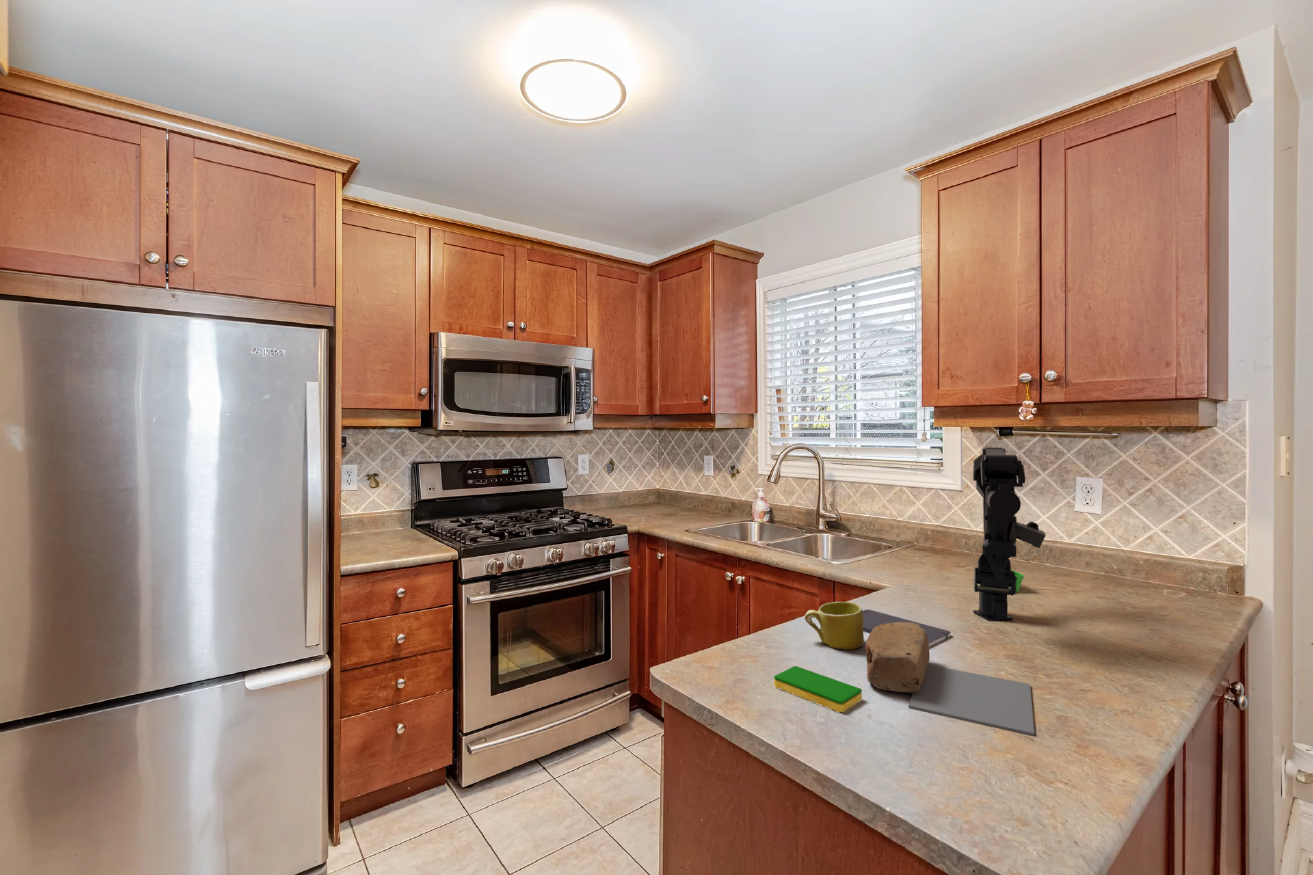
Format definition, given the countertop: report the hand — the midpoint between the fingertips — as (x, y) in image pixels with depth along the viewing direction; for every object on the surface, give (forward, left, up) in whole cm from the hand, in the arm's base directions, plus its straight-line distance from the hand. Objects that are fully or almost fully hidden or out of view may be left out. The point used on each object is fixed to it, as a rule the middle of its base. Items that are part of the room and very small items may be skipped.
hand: (999, 580), depth 133 cm
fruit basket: (-38, +26, -13) cm, 48 cm away
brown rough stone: (+8, -27, -9) cm, 29 cm away
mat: (+27, -23, -13) cm, 38 cm away
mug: (0, -38, -13) cm, 40 cm away
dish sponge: (+23, -50, -14) cm, 57 cm away
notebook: (-7, -21, -14) cm, 26 cm away
